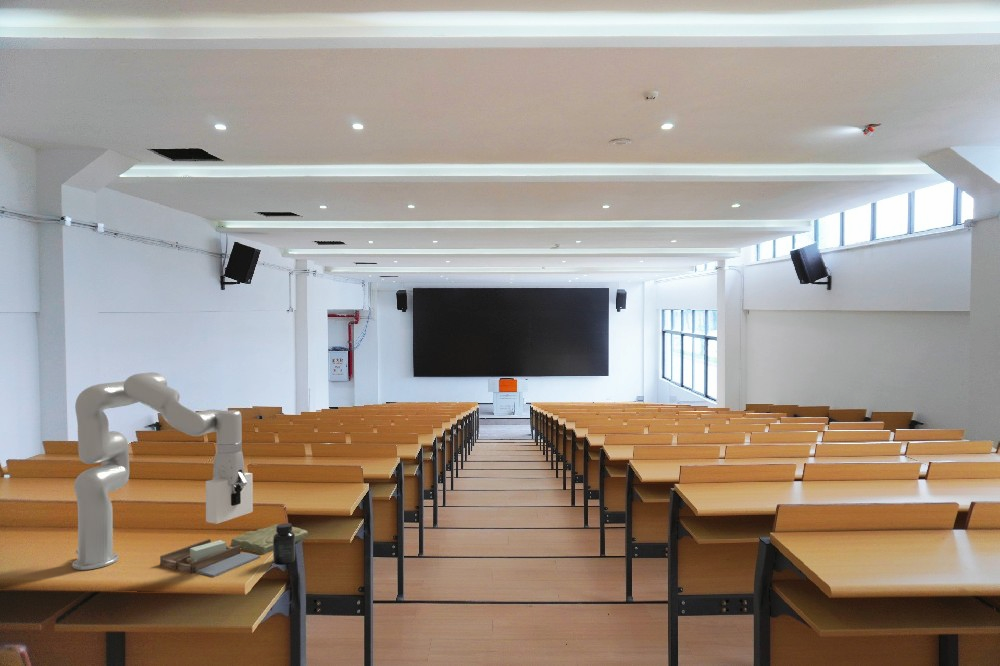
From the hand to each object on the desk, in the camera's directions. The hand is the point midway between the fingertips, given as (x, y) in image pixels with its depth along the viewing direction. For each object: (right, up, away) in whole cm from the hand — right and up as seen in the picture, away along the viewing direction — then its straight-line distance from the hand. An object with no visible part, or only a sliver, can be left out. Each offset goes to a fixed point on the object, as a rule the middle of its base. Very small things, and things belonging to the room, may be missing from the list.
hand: (229, 503), depth 193 cm
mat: (0, -20, 0) cm, 20 cm away
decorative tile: (+4, -21, +22) cm, 31 cm away
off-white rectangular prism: (0, -5, 0) cm, 5 cm away
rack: (-12, -20, +4) cm, 24 cm away
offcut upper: (-8, -18, +2) cm, 20 cm away
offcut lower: (-9, -21, +3) cm, 23 cm away
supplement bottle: (+17, -20, +3) cm, 27 cm away
